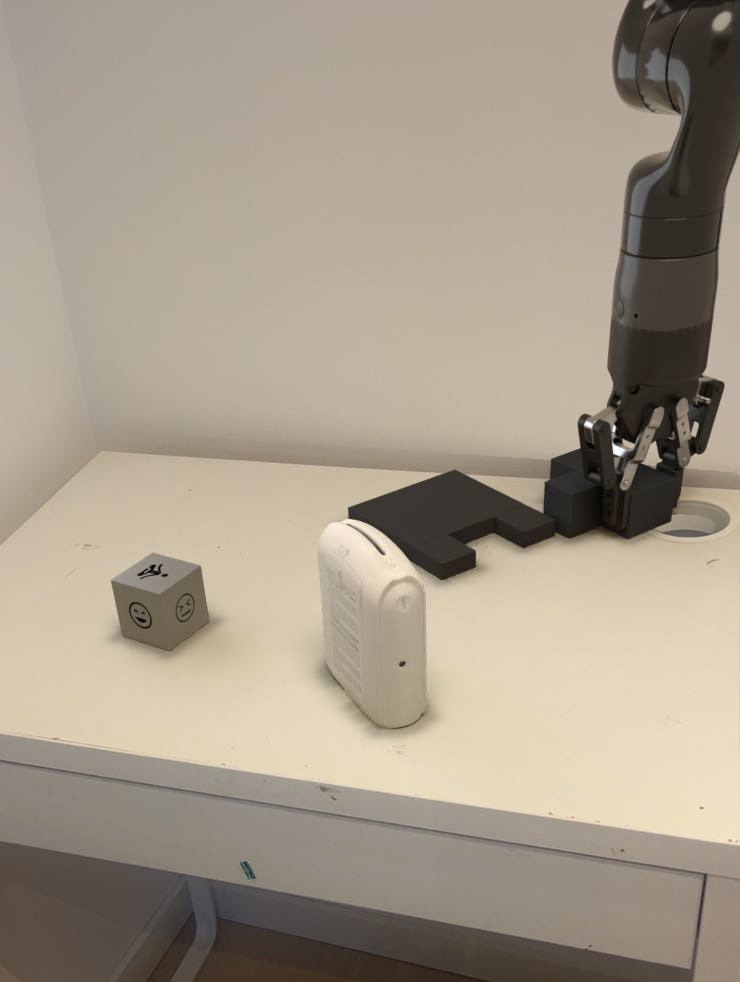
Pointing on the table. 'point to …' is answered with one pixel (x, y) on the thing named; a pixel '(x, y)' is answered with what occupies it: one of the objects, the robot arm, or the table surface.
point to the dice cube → (160, 601)
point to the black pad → (450, 520)
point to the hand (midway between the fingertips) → (640, 515)
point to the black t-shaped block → (582, 499)
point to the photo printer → (373, 622)
